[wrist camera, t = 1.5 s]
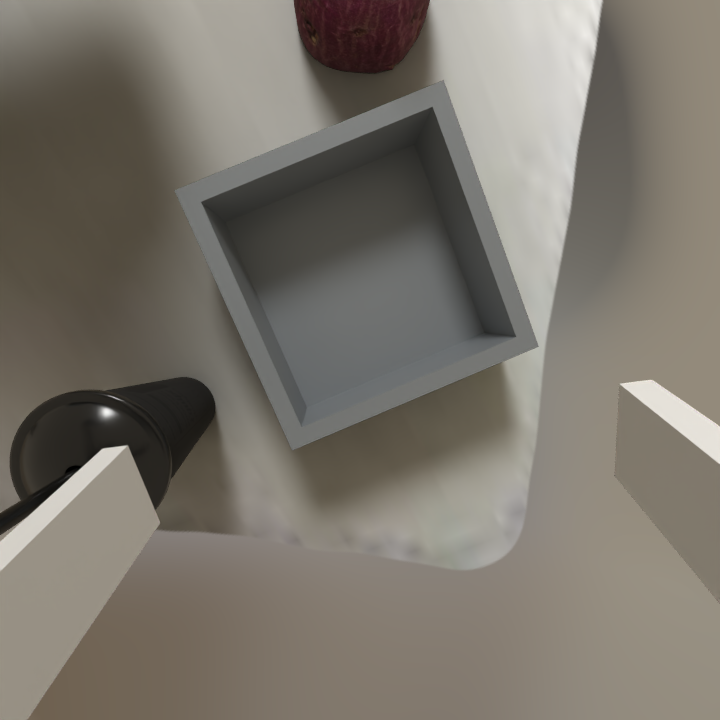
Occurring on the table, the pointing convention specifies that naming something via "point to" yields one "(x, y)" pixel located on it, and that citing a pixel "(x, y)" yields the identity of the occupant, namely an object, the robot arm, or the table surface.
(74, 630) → the robot arm
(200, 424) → the drinking cup
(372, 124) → the bin
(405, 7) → the vegetable
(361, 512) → the table surface
